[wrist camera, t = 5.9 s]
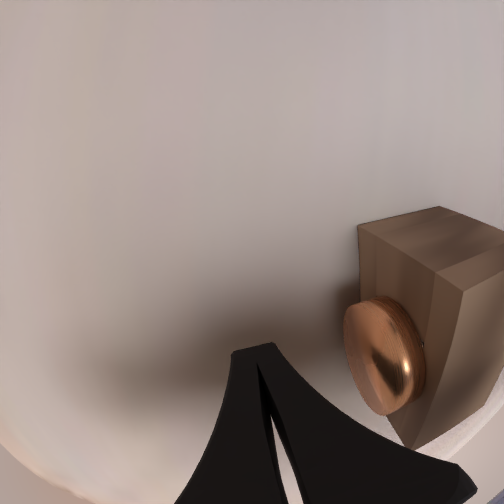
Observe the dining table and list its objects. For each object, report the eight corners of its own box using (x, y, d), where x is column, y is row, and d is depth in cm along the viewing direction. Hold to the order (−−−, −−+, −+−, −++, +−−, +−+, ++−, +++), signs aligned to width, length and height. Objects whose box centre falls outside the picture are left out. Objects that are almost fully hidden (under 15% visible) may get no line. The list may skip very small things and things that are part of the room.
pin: (463, 244, 10) (530, 280, 6) (452, 318, 11) (503, 362, 7) (341, 283, 9) (405, 354, 6) (343, 365, 11) (385, 435, 7)
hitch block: (439, 206, 10) (539, 247, 5) (425, 342, 12) (483, 405, 8) (357, 225, 9) (463, 291, 5) (358, 372, 12) (409, 453, 7)
